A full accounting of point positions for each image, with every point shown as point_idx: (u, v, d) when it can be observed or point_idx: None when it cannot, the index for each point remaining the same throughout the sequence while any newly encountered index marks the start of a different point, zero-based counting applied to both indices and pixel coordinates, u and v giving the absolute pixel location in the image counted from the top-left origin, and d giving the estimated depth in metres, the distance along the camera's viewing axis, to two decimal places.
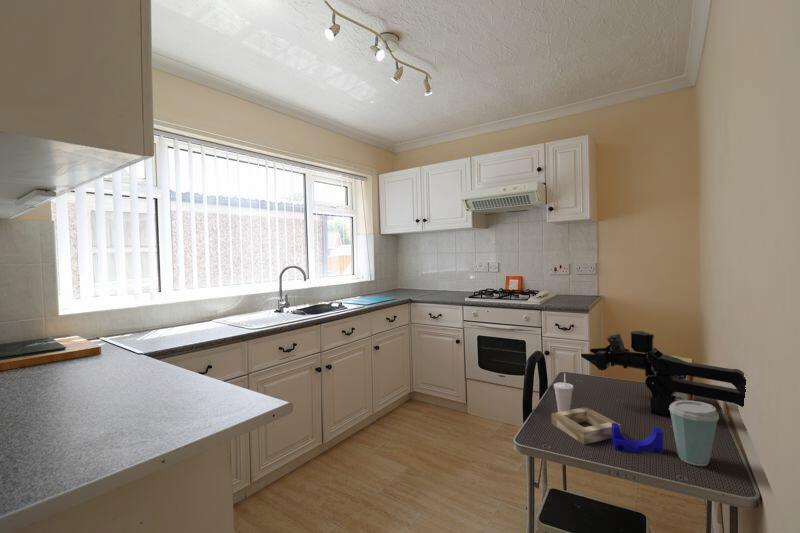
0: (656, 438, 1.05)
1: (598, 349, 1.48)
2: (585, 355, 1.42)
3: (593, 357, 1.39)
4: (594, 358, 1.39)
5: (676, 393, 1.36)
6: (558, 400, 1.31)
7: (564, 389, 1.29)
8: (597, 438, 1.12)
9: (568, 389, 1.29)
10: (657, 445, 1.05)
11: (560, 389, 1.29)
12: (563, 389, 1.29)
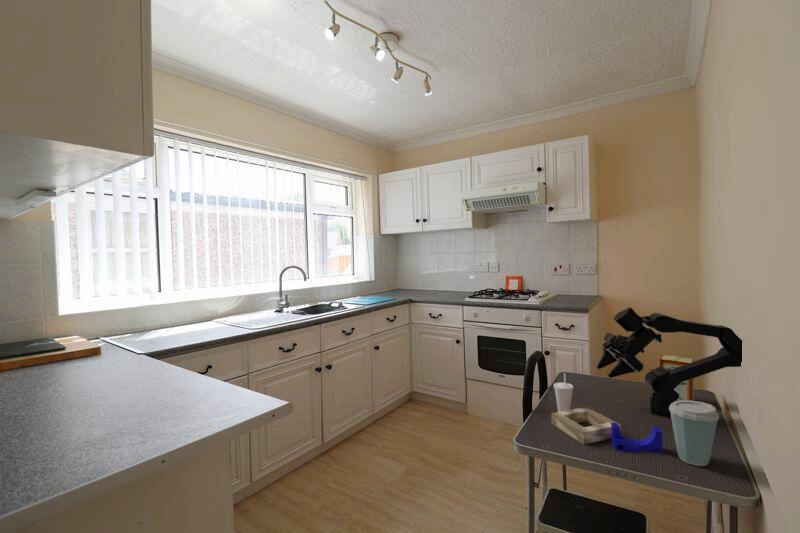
0: (655, 438, 1.05)
1: (602, 360, 1.36)
2: (613, 373, 1.26)
3: (620, 367, 1.25)
4: (622, 367, 1.25)
5: None
6: (558, 400, 1.31)
7: (564, 389, 1.29)
8: (597, 438, 1.12)
9: (568, 389, 1.29)
10: (657, 444, 1.05)
11: (560, 389, 1.29)
12: (563, 389, 1.29)
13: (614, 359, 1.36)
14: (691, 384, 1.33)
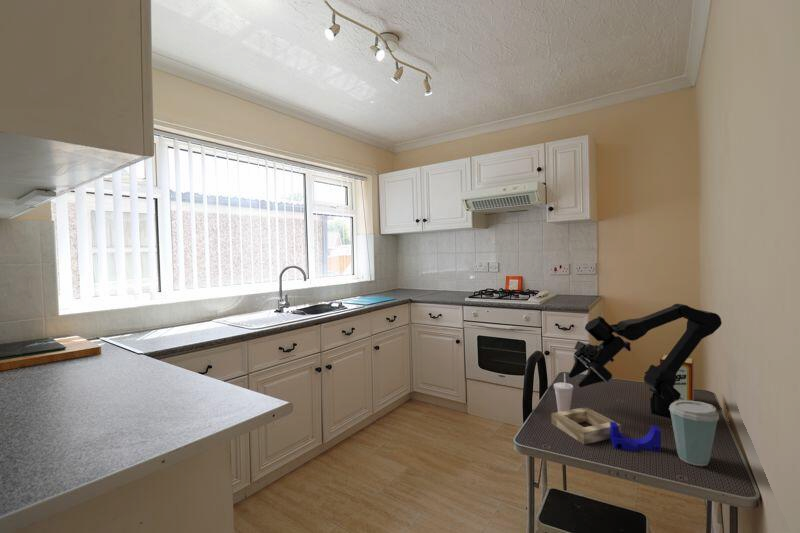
0: (654, 436, 1.06)
1: (573, 369, 1.35)
2: (583, 382, 1.26)
3: (590, 377, 1.25)
4: (591, 377, 1.25)
5: None
6: (558, 400, 1.31)
7: (564, 389, 1.29)
8: (597, 438, 1.12)
9: (568, 389, 1.29)
10: (655, 443, 1.06)
11: (560, 389, 1.29)
12: (563, 389, 1.29)
13: (585, 368, 1.35)
14: (691, 384, 1.33)
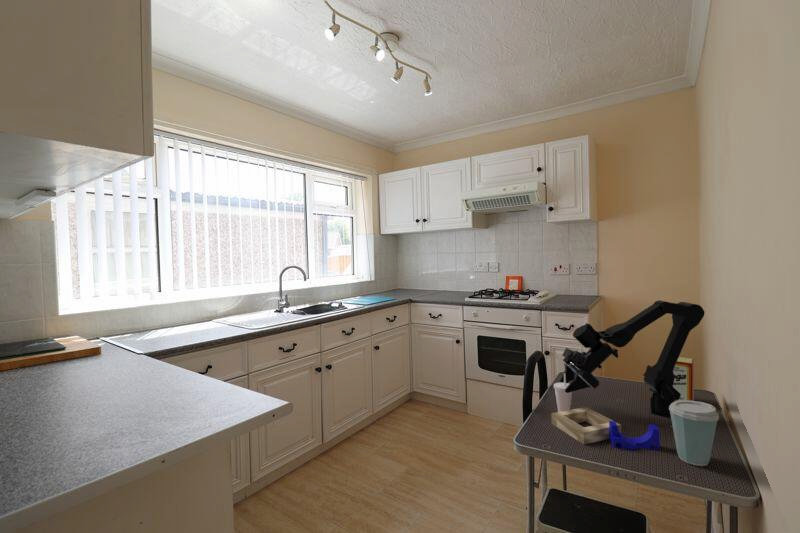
0: (652, 435, 1.06)
1: (563, 377, 1.35)
2: (569, 388, 1.27)
3: (576, 383, 1.27)
4: (578, 383, 1.27)
5: None
6: (558, 400, 1.31)
7: (564, 389, 1.29)
8: (597, 438, 1.12)
9: None
10: (654, 441, 1.06)
11: (560, 389, 1.29)
12: (563, 389, 1.29)
13: None
14: (691, 384, 1.33)
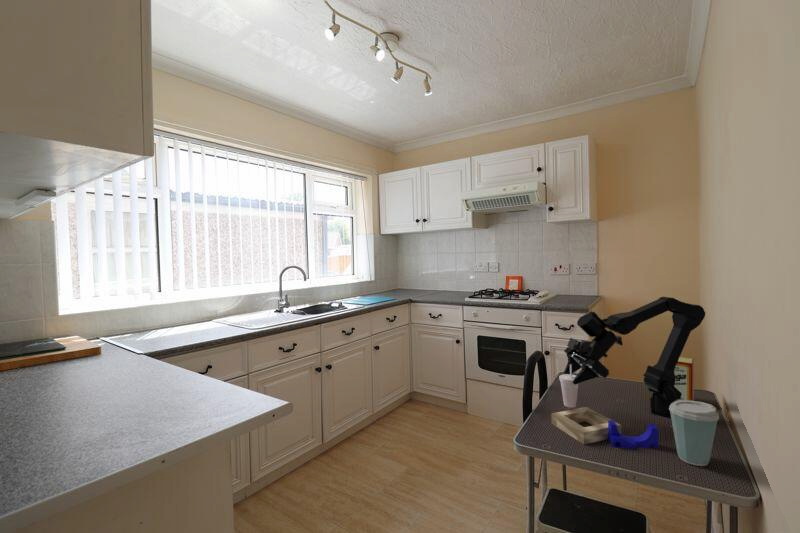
0: (651, 434, 1.07)
1: (567, 368, 1.30)
2: (577, 379, 1.22)
3: (584, 373, 1.22)
4: (586, 373, 1.22)
5: None
6: (565, 393, 1.26)
7: (571, 381, 1.24)
8: (597, 438, 1.12)
9: None
10: (653, 440, 1.07)
11: (567, 381, 1.24)
12: (570, 381, 1.24)
13: (579, 366, 1.30)
14: (691, 384, 1.33)
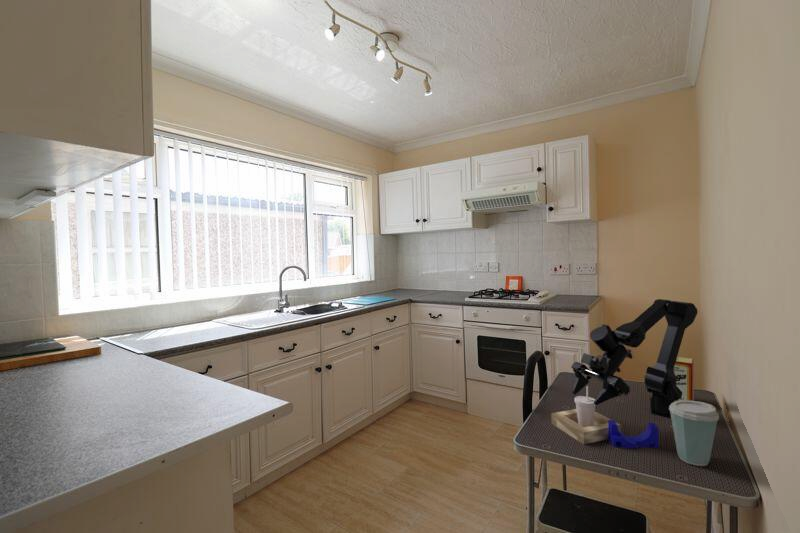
0: (651, 433, 1.07)
1: (577, 384, 1.23)
2: (599, 399, 1.14)
3: (606, 392, 1.14)
4: (607, 392, 1.14)
5: None
6: (582, 417, 1.17)
7: (591, 404, 1.16)
8: (597, 438, 1.12)
9: None
10: (653, 440, 1.07)
11: (586, 405, 1.16)
12: (590, 404, 1.16)
13: (586, 381, 1.25)
14: (691, 384, 1.33)
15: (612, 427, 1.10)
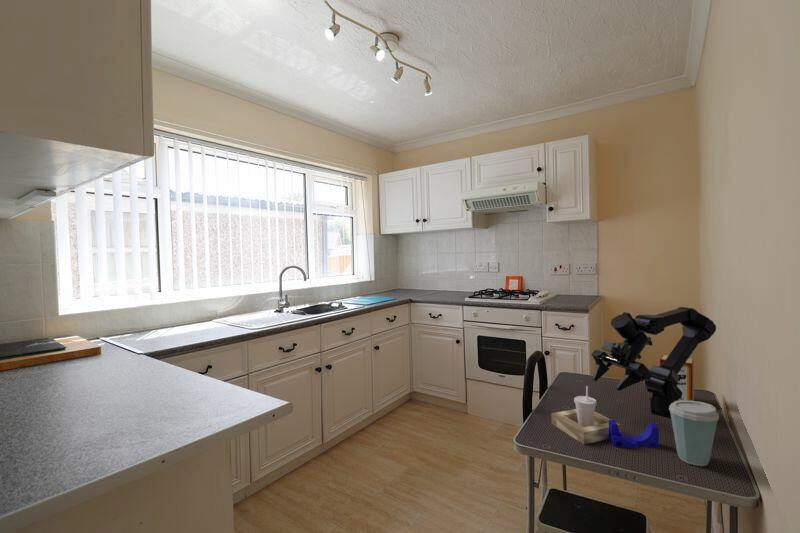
0: (652, 433, 1.08)
1: (597, 371, 1.26)
2: (622, 385, 1.16)
3: (628, 378, 1.16)
4: (629, 378, 1.16)
5: None
6: (582, 417, 1.17)
7: (590, 404, 1.16)
8: (597, 438, 1.12)
9: (594, 403, 1.16)
10: (653, 440, 1.08)
11: (586, 405, 1.16)
12: (589, 404, 1.16)
13: (607, 368, 1.27)
14: (691, 384, 1.33)
15: (613, 427, 1.10)
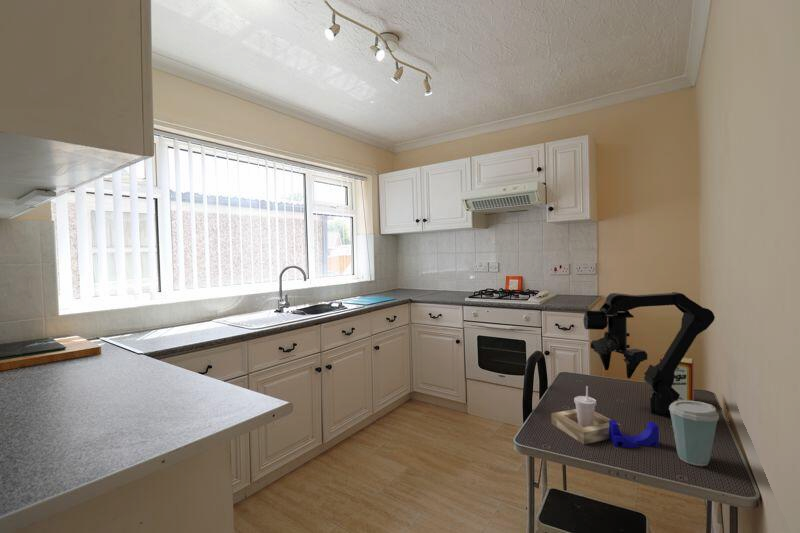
0: (652, 432, 1.08)
1: (604, 361, 1.36)
2: (629, 373, 1.26)
3: (631, 365, 1.26)
4: (632, 364, 1.26)
5: None
6: (582, 417, 1.17)
7: (590, 404, 1.16)
8: (597, 438, 1.12)
9: (594, 403, 1.16)
10: (653, 439, 1.08)
11: (586, 405, 1.16)
12: (589, 404, 1.16)
13: (609, 351, 1.37)
14: (691, 384, 1.33)
15: (613, 427, 1.10)
